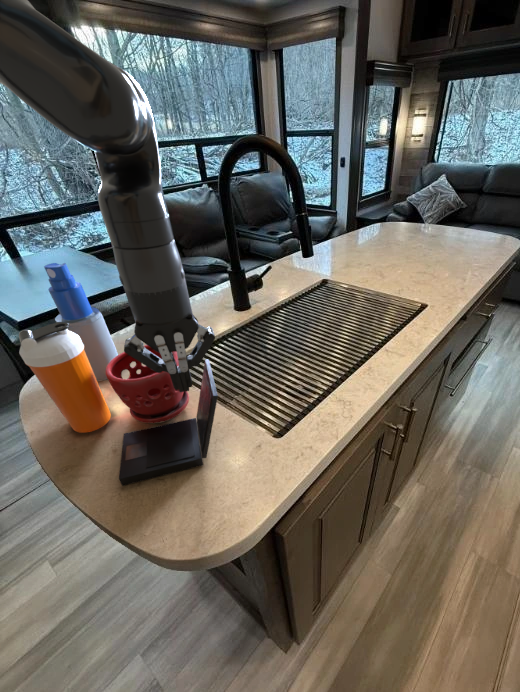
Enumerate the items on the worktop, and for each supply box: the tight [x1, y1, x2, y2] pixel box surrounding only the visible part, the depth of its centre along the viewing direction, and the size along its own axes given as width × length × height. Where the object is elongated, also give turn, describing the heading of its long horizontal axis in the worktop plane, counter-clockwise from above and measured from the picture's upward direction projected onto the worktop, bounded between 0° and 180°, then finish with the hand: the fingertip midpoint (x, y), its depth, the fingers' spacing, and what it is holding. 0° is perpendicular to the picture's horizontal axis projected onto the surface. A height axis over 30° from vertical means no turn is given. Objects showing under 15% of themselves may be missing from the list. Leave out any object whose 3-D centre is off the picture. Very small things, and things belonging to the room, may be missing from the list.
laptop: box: [118, 417, 204, 487], centre depth 59 cm, size 13×11×2 cm
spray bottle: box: [43, 262, 119, 382], centre depth 73 cm, size 9×9×25 cm
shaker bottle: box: [18, 322, 112, 434], centre depth 60 cm, size 9×9×20 cm
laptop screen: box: [195, 358, 219, 459], centre depth 57 cm, size 13×11×1 cm
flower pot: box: [106, 344, 190, 424], centre depth 65 cm, size 13×13×12 cm
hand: (184, 388), depth 53 cm, fingers closed
